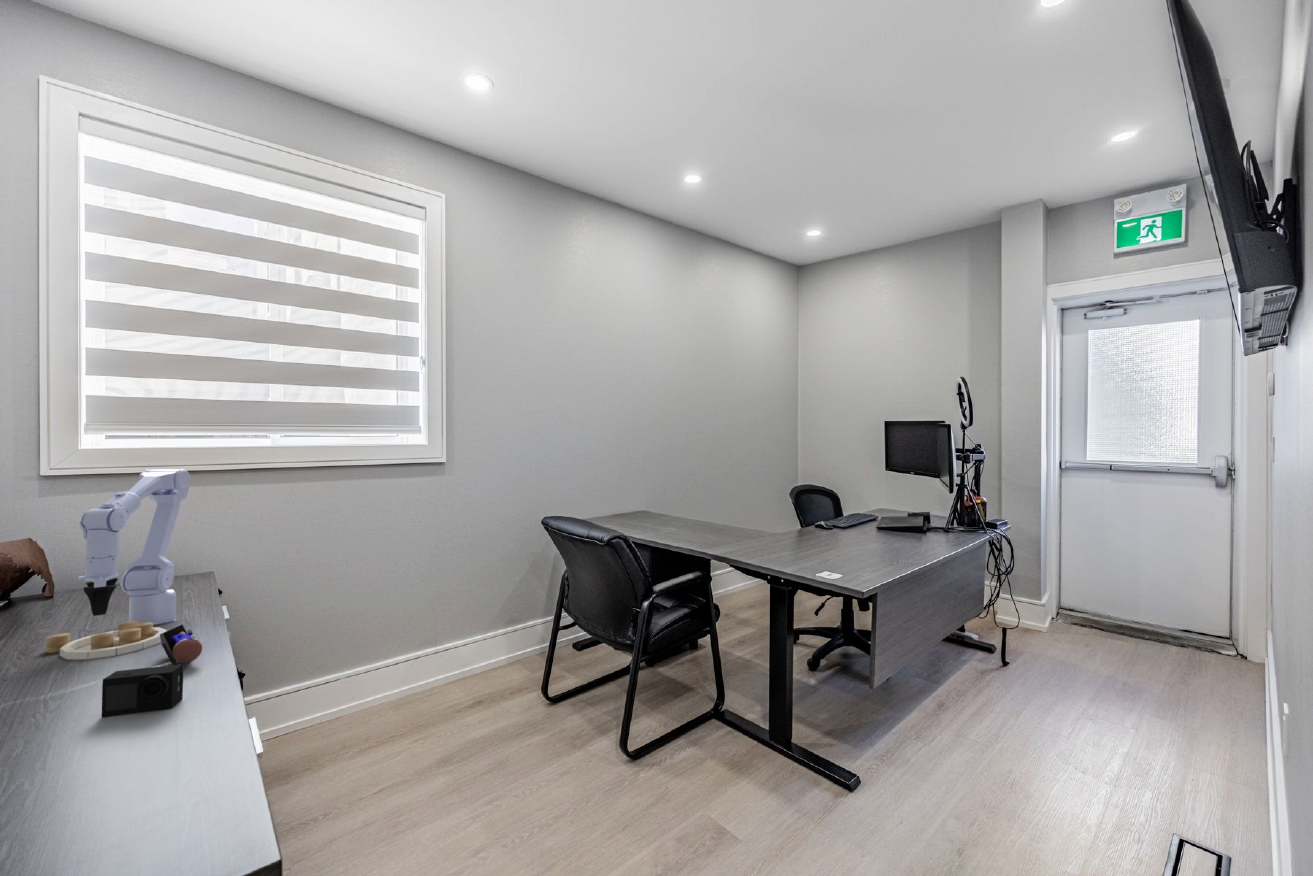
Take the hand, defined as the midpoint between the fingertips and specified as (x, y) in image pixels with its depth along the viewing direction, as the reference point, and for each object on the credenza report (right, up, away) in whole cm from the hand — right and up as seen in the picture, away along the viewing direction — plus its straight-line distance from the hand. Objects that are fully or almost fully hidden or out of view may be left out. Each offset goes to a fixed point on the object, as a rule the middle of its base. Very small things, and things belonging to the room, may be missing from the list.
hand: (100, 611), depth 135 cm
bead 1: (-6, -8, -5) cm, 11 cm away
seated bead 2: (+10, -8, -3) cm, 13 cm away
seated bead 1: (+7, -8, -6) cm, 12 cm away
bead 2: (+4, -8, +3) cm, 9 cm away
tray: (+5, -8, -2) cm, 10 cm away
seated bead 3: (+9, -8, +2) cm, 12 cm away
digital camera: (+42, -8, -34) cm, 55 cm away
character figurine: (+29, -8, -11) cm, 32 cm away
